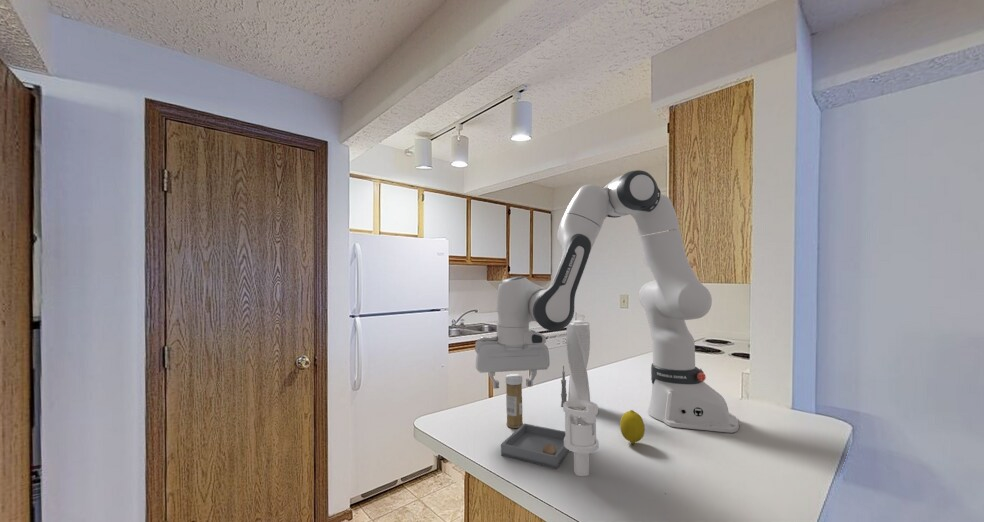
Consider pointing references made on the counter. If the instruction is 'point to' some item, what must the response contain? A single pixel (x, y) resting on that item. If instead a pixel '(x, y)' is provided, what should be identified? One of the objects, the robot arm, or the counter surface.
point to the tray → (535, 445)
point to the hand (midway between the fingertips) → (512, 387)
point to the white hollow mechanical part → (581, 433)
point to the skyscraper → (577, 363)
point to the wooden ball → (549, 449)
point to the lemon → (632, 426)
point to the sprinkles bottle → (514, 400)
